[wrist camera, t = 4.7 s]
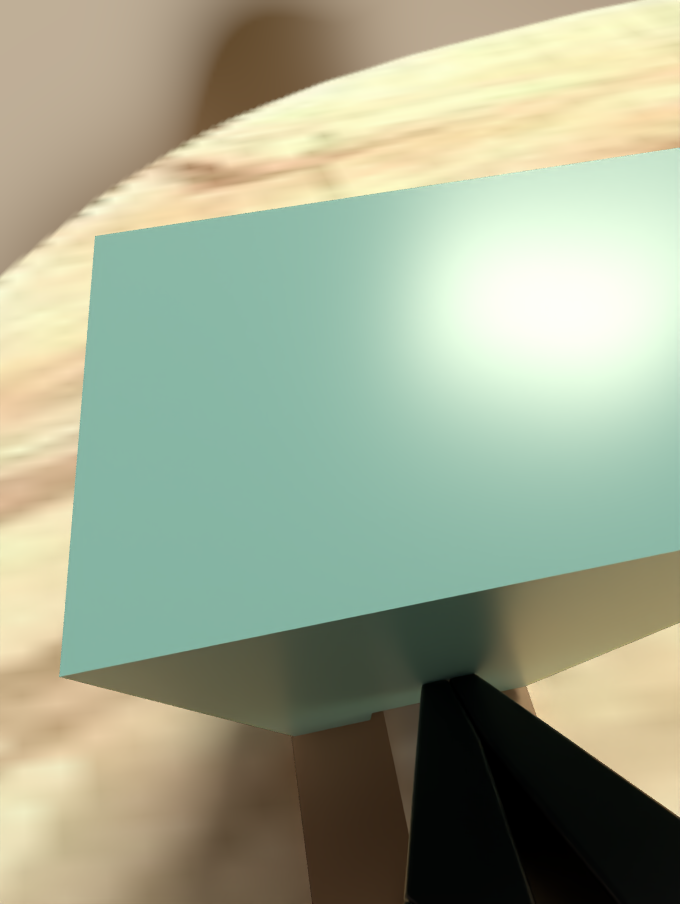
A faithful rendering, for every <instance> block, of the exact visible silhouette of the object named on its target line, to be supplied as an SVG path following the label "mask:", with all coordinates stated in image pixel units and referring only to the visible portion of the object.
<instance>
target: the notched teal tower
mask: <svg viewBox="0 0 680 904" xmlns="http://www.w3.org/2000/svg"><path fill="white" fill-rule="evenodd" d="M678 623H680V148H674V149H668V150H661V151H654V152H648V153H641V154H635V155H628V156H621V157H615V158H608V159H602V160H595V161H588V162H582V163H575V164H569V165H562V166H555V167H549V168H542V169H536V170H529V171H522V172H516V173H509V174H503V175H496V176H489V177H483V178H476V179H470V180H463V181H456V182H450V183H443V184H437V185H430V186H423V187H417V188H410V189H404V190H397V191H390V192H384V193H377V194H371V195H364V196H357V197H351V198H344V199H338V200H331V201H324V202H318V203H311V204H305V205H298V206H291V207H285V208H278V209H272V210H265V211H258V212H252V213H245V214H239V215H232V216H225V217H219V218H212V219H206V220H199V221H192V222H186V223H179V224H173V225H166V226H159V227H153V228H146V229H140V230H133V231H126V232H120V233H113V234H107V235H100V236H95V245H94V257H93V269H92V282H91V294H90V306H89V318H88V331H87V343H86V355H85V368H84V380H83V392H82V405H81V417H80V429H79V442H78V454H77V466H76V479H75V491H74V503H73V515H72V528H71V540H70V552H69V565H68V577H67V589H66V602H65V614H64V626H63V639H62V651H61V663H60V675H59V677H62V678H66V679H70V680H74V681H78V682H82V683H86V684H89V685H93V686H97V687H101V688H105V689H109V690H113V691H117V692H121V693H125V694H129V695H133V696H137V697H141V698H145V699H148V700H152V701H156V702H160V703H164V704H168V705H172V706H176V707H180V708H184V709H188V710H192V711H196V712H200V713H204V714H207V715H211V716H215V717H219V718H223V719H227V720H231V721H235V722H239V723H243V724H247V725H251V726H255V727H259V728H263V729H266V730H270V731H274V732H278V733H282V734H286V735H290V736H299V735H304V734H308V733H313V732H317V731H322V730H327V729H331V728H336V727H340V726H345V725H350V724H354V723H359V722H363V721H368V720H370V719H371V715H372V713H375V712H380V711H384V710H389V709H393V708H398V707H403V706H407V705H412V704H417V703H420V697H421V687H422V685H423V684H426V683H431V682H435V681H440V680H447V681H448V682H449V680H450V679H451V678H454V677H458V676H463V675H468V674H473V673H474V674H477V675H478V676H480V677H481V678H482V679H484V680H485V681H487V682H488V683H490V684H491V685H492V686H494V687H495V688H497V689H498V690H500V691H506V690H510V689H515V688H520V687H524V686H527V685H530V684H532V683H535V682H537V681H540V680H542V679H544V678H547V677H549V676H552V675H554V674H556V673H559V672H561V671H564V670H566V669H569V668H571V667H573V666H576V665H578V664H581V663H583V662H586V661H588V660H590V659H593V658H595V657H598V656H600V655H602V654H605V653H607V652H610V651H612V650H615V649H617V648H619V647H622V646H624V645H627V644H629V643H632V642H634V641H636V640H639V639H641V638H644V637H646V636H648V635H651V634H653V633H656V632H658V631H661V630H663V629H665V628H668V627H670V626H673V625H675V624H678Z"/></svg>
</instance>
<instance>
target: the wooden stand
mask: <svg viewBox="0 0 680 904" xmlns="http://www.w3.org/2000/svg"><path fill="white" fill-rule="evenodd" d="M501 692H502V693H504V694H505V695H507V696H508V697H509V698H511V699H512V700H514V701H515V702H517V703H518V704H519V705H521V706H522V707H524V708H525V709H527V710H528V711H529V712H531V713H532V714H534V715H535V716H536V713H535V710H534V708H533V705H532V702H531V699H530V696H529V693H528V690H527V687H526V686H524V687H520V688H515V689H510V690H506V691H501ZM419 709H420V703H417V704H412V705H407V706H403V707H398V708H393V709H389V710H384V711H380V712H375V713H372V715H371V719H370V720H368V721H363V722H359V723H354V724H350V725H345V726H340V727H336V728H331V729H327V730H322V731H317V732H313V733H308V734H304V735H299V736H292V744H293V752H294V760H295V768H296V776H297V784H298V792H299V800H300V808H301V816H302V825H303V833H304V841H305V849H306V857H307V865H308V873H309V881H310V889H311V897H312V904H404V903H405V902H404V889H405V877H406V865H407V853H408V841H409V829H410V817H411V805H412V793H413V781H414V769H415V757H416V745H417V733H418V721H419ZM536 717H537V716H536Z"/></svg>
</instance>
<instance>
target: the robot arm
mask: <svg viewBox="0 0 680 904" xmlns="http://www.w3.org/2000/svg"><path fill="white" fill-rule="evenodd" d="M404 902H405V903H404V904H680V817H679V816H677V815H676V814H674V813H673V812H671V811H670V810H669V809H667V808H666V807H664V806H663V805H662V804H660V803H659V802H657V801H656V800H654V799H653V798H652V797H650V796H649V795H647V794H646V793H644V792H643V791H642V790H640V789H639V788H637V787H636V786H635V785H633V784H632V783H630V782H629V781H627V780H626V779H625V778H623V777H622V776H620V775H619V774H617V773H616V772H615V771H613V770H612V769H610V768H609V767H608V766H606V765H605V764H603V763H602V762H600V761H599V760H598V759H596V758H595V757H593V756H592V755H590V754H589V753H588V752H586V751H585V750H583V749H582V748H581V747H579V746H578V745H576V744H575V743H573V742H572V741H571V740H569V739H568V738H566V737H565V736H563V735H562V734H561V733H559V732H558V731H556V730H555V729H554V728H552V727H551V726H549V725H548V724H546V723H545V722H544V721H542V720H541V719H539V718H538V717H536V716H535V715H534V714H532V713H531V712H529V711H528V710H527V709H525V708H524V707H522V706H521V705H519V704H518V703H517V702H515V701H514V700H512V699H511V698H509V697H508V696H507V695H505V694H504V693H502V692H501V691H500V690H498V689H497V688H495V687H494V686H492V685H491V684H490V683H488V682H487V681H485V680H484V679H482V678H481V677H480V676H478V675H477V674H474V673H473V674H468V675H463V676H458V677H454V678H451V679H450V680H449V682H448V681H447V680H440V681H435V682H431V683H426V684H423V685H422V687H421V697H420V709H419V721H418V733H417V745H416V757H415V769H414V781H413V793H412V805H411V817H410V829H409V841H408V853H407V865H406V877H405V889H404Z"/></svg>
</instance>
